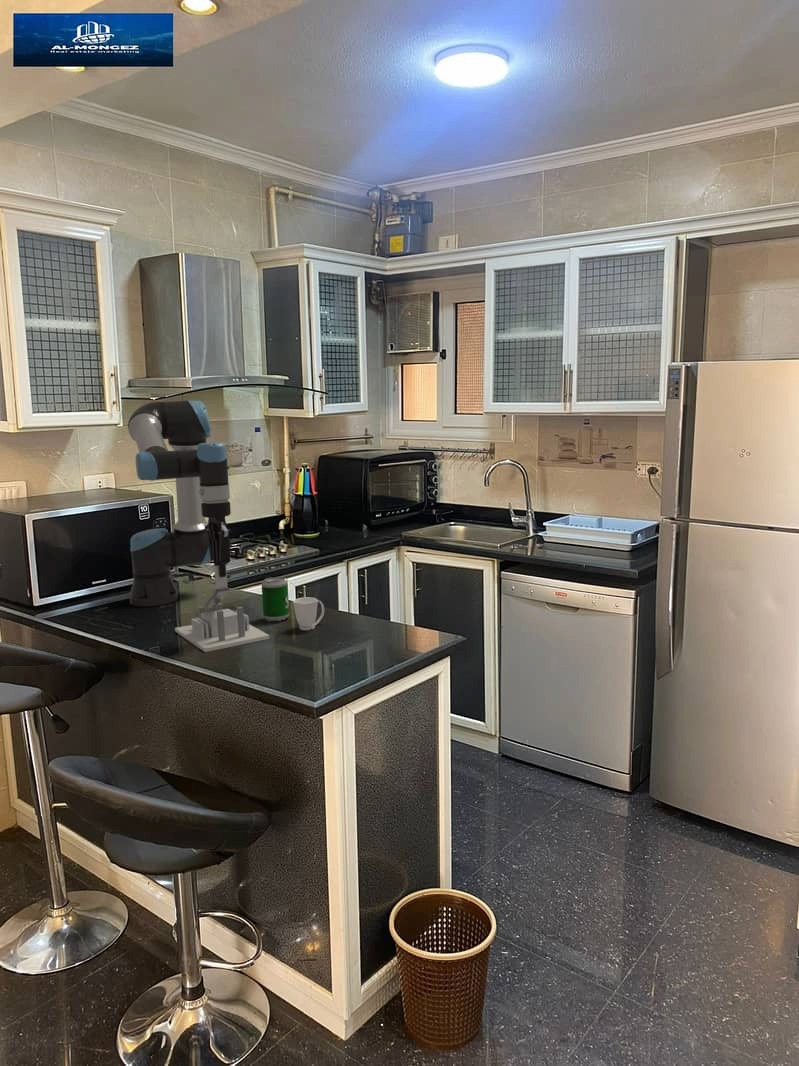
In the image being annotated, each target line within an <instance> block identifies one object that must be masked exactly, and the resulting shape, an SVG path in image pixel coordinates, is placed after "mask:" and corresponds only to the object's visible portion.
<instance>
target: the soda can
mask: <svg viewBox="0 0 799 1066" xmlns="http://www.w3.org/2000/svg"><path fill="white" fill-rule="evenodd" d="M261 596H262V597H261V598H262V600H261V601H262V613H263V616H262V617H263V618H264V619H265V620H266V621H267V620H268V621H267V622H270V621H279V622H282V621H281V620H284V621H286V620H287V619H286V618H289V616H290V604H289V601H290V600H289V599H290V598H289V586H288V580H287V579H285V578H284V577H282V576H281V577H280V576H275V577H274V576H273V577H267V578H265V579H264V580H263V582H261ZM285 619H286V620H285Z"/></svg>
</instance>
